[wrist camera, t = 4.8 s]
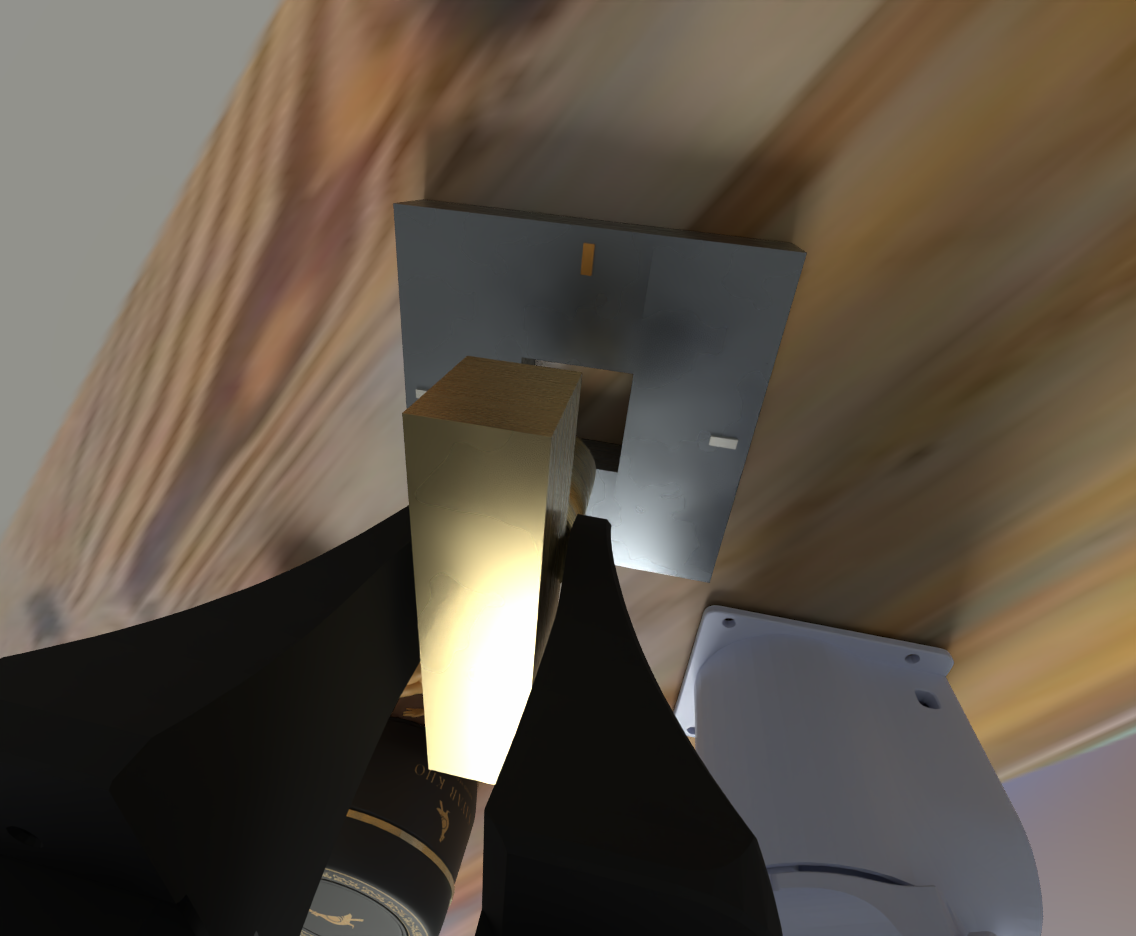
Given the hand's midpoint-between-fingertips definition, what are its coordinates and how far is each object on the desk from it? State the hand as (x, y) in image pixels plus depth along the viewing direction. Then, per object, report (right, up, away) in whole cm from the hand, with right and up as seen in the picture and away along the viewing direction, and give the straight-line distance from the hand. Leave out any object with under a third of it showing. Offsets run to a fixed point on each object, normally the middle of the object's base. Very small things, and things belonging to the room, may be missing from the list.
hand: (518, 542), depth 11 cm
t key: (+1, +2, +3) cm, 3 cm away
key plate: (+2, +4, +7) cm, 8 cm away
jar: (-9, -16, +21) cm, 28 cm away
